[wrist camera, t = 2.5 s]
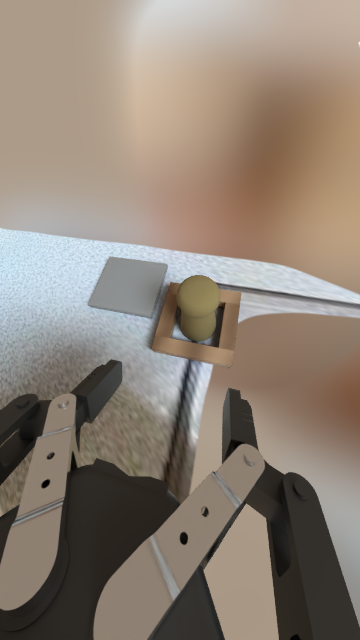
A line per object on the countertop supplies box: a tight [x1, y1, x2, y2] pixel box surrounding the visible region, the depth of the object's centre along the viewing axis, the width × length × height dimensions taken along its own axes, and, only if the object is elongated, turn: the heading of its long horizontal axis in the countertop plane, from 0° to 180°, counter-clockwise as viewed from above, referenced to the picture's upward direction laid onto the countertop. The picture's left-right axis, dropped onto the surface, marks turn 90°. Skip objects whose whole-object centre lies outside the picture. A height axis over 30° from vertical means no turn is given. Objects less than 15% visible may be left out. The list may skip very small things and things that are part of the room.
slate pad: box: [88, 257, 168, 318], centre depth 33 cm, size 12×11×1 cm
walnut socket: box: [151, 282, 241, 368], centre depth 29 cm, size 12×12×2 cm
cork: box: [176, 275, 220, 342], centre depth 25 cm, size 6×6×11 cm
